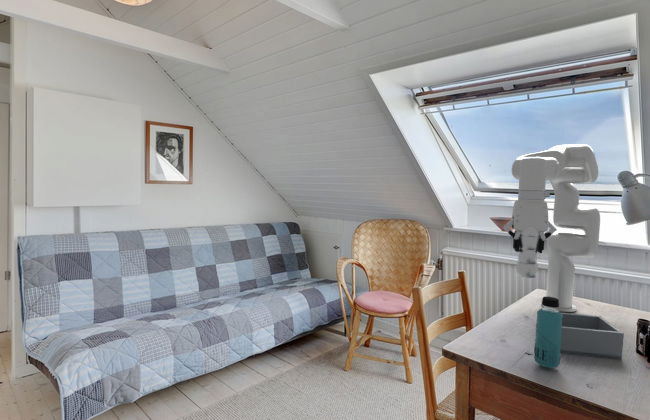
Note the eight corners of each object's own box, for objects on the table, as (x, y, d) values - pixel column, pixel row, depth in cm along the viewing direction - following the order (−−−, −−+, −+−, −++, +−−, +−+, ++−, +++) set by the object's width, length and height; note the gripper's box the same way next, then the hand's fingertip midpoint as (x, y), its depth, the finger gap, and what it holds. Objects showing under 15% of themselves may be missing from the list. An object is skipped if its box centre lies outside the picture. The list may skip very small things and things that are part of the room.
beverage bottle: (562, 367, 110) (567, 297, 108) (556, 376, 105) (561, 303, 103) (536, 360, 114) (540, 292, 113) (530, 367, 109) (534, 297, 108)
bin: (542, 334, 134) (543, 311, 133) (598, 339, 130) (600, 316, 129) (557, 352, 119) (559, 327, 119) (621, 359, 116) (623, 333, 115)
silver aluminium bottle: (517, 279, 126) (520, 216, 124) (513, 274, 132) (517, 214, 130) (539, 280, 124) (543, 217, 122) (535, 275, 130) (539, 215, 128)
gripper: (557, 196, 127) (553, 251, 129) (499, 195, 131) (497, 248, 133) (565, 197, 120) (561, 255, 121) (504, 196, 124) (501, 252, 125)
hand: (528, 251), depth 127 cm, fingers closed on silver aluminium bottle, 6 cm apart
